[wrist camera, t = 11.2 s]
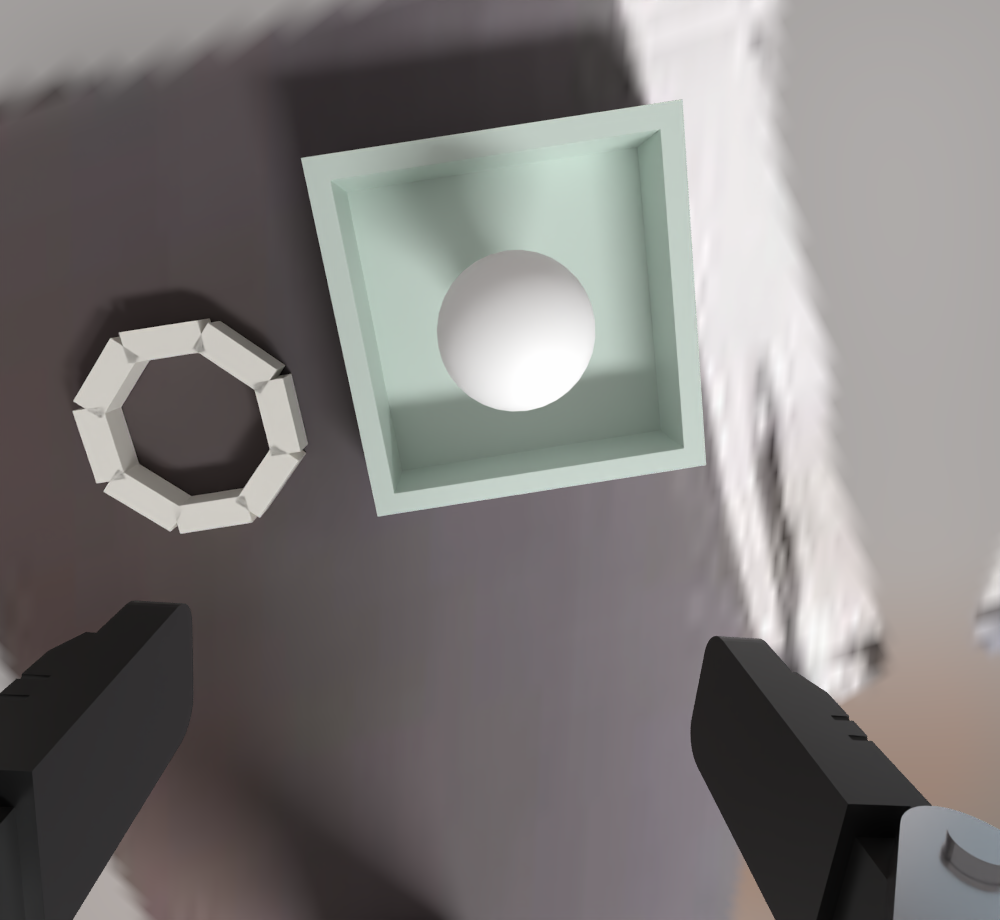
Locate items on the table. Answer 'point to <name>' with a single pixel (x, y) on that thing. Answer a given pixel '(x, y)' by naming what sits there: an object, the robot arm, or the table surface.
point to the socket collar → (115, 448)
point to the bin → (516, 226)
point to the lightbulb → (516, 330)
